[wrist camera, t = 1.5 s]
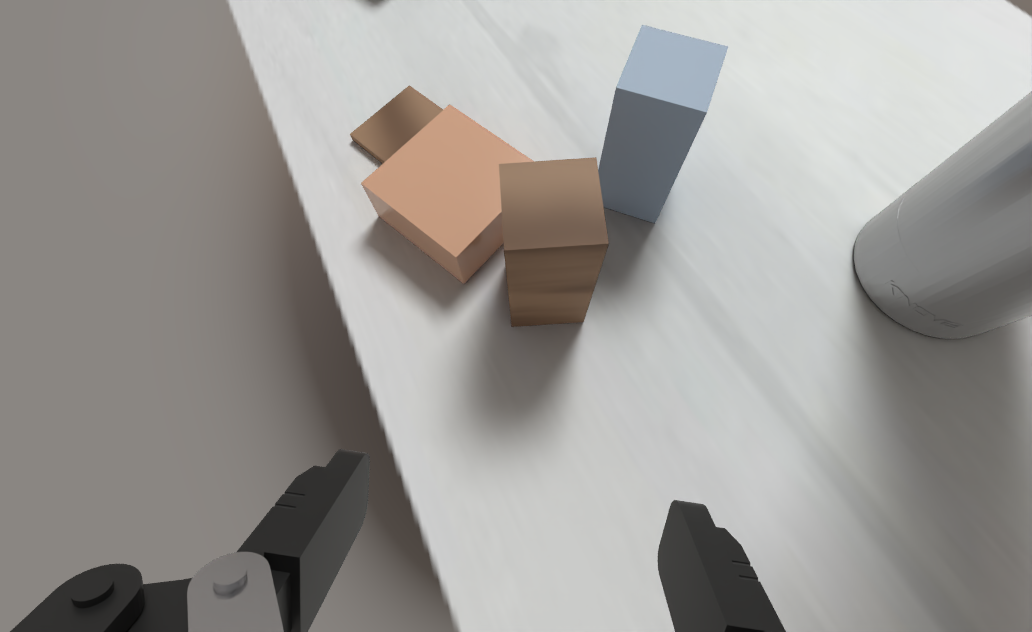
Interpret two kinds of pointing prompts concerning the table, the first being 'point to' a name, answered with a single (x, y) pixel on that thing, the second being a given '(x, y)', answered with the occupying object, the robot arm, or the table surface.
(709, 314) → the table surface
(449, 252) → the terracotta block
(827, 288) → the table surface
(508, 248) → the walnut pillar
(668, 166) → the slate pillar
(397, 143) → the walnut swatch
